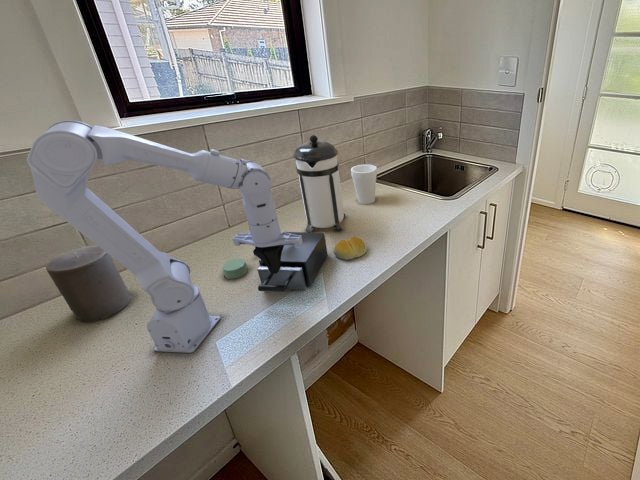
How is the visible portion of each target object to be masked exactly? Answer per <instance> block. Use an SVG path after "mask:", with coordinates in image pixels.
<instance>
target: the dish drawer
mask: <svg viewBox="0 0 640 480" xmlns="http://www.w3.org/2000/svg"><path fill="white" fill-rule="evenodd" d="M256 270H257V273H258V277H259V281H260V284H259V285H258V286H257V290H258V291H259V292H274V293H275V292H279V293H280V292H281V293H286V292H287V290H293V291H294V290H295V291H297V290H298V291H299V290H301V291H305V290H306V288H307V287H306V284H305V282H306V276H305V271H304V266H303V264H280V270H279V271H278V273H277V274H271V272H270V271H269V269H268V268H267V266H260V265H259V266H258V267H257V269H256Z"/></svg>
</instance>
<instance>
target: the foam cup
mask: <svg viewBox="0 0 640 480" xmlns="http://www.w3.org/2000/svg"><path fill="white" fill-rule="evenodd" d="M377 175H378V169H377V166H375V165H374V164H367V163H366V164H365V163H364V164H357V165H354V166H351V168H350V176H351V178H352V181H353V182H352V183H353V185H354V190H355V195H356V198H357V203H359V204H362V205H370V204H373V203H374V202H375V201H376V189H377V187H376V185H377Z"/></svg>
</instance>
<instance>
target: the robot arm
mask: <svg viewBox="0 0 640 480" xmlns="http://www.w3.org/2000/svg"><path fill="white" fill-rule="evenodd" d="M98 160H102V164H103V167H108V166H112V165H115V164H118V163H123V162H125V161H134V162H139V163H143V164H149V165H154V166H159V167H164V168H169V169H173V170H179V171H183V172H187V173H188V174H189V176H190V177H191V178H192V180H194V181H195V182H201V183H205V184H209V185H213V186H218V187H223V188H226V189H231V190H239V191H240V194H241V198H242V205H243V206H242V207H243V210H244V213H245V217H246V221H247V224H248V229H249V231H250V232H245V233H236V234H235V235H234V236H233V237H232V241H233V244H234V247H238V246H241V245H250V246H252V247H254V249H253V250H252V252H253V255H254V256H255V257H257V258H258V259H261V260H262V261H263V262H264V264H265V265H266V266H267V268H268V269H269V271H270V272H271V274H277V273H278V271H279V270H280V262H281V255H282V251H283V248H284V245H290V246H295V247H300V246H301V245H302V243H303V241H302V236H301V235H294V234H290V233H286V232H287V231H281V227H280V223H279V218H278V214H277V210H276V206H275V201H274V197H273V195H272V187H273V182H274V181H273V179H271V176H270V174H268V172H267V171H266V170H265V169H264V168H263V167H262V166H261V165H260V164H258V163H256V162H254V161H253V160H247V159H244V158H240V160H239V159H236V158H233V157H229V156H225V155H222V154H221V153H220V151H219V150H217V149H214V148H211V149H210V151H209V150H205V149H202V150H199V151H197V152H193V153H191V152H188V151H183V150H180V149H177V148H174V147H171V146H168V145H165V144H163V143H158V142H155V141H152V140H149V139H146V138H144V137H143V138H142V137H140V136H136V135H133V134H130V133H126V132H123V131H120V130H117V129H113V128H110V127H106V126H102V125H96V124H94V125H93V126H92V125H90V124H88V123H86V122H83V121H79V120H73V119H70V120H69V119H65V120H60V121H56V122H55V123H53V124H52V125H50V126H49V127H48V129H46V131H45V132H43V133H42V134H41V135H39V136H38V137H37V138H35V140H34V141H33V142H32V145H31V147H30V150H29V153H28V156H27V158H26V163H27V164H28V166H29V167H30V171H31V174H32V178H33V182H34V187H35V192H36V196H37V199H38V200H39V201H40V202H41V203H42V204H43V205H45V206H46V207H48V208H49V209H50V210H51V211H53V212H54V213H55V214H57V216H59V217H60V218H62V219H63V220H64V221H65V222H67V223H68V224H69V225H70V226H72V227H73V228H74V229H76V230H77V231H78V232H79V233H81V234H82V235H83V236H85V238H87V239H89V240H90V241H91V242H92V243H93V244H95V246H99V247H100V248H101V249H103V250H104V251H105V252H106V253H108V254H109V255H110V256H111V258H112V259H114V260H115V261H117V262H118V263H119V264H121V265H122V267H124V268H125V269H127V270H128V272H129V271H130V272H131V274H133V275H134V276H135V277H136V279H137V281H138V283H139V285H140V286H141V288H142V290H143V291H144V292H145V293H147V294H148V295H149V297H150V299H151V303H152V305H153V306H154V308H155V311H154V313H153V315H152V317H151V318H150V320H149V322H148V323H147V325H146V328H147V331H148V333H149V335H150V337H151V340H152V341H153V343H154V345H155V347H154V348H153V351H154V352H163V353H187V354H192V353H194V352H195V351H196V350H197V348H198V347H199V346H200V345H201V343H202V342H203V341H204V340H205V338H206V337H207V336H208V335H209V334H210V332H211V331H212V330H213V329H214V327H216V325H217V324H218V323H219V321H220V320H221V318H222V317H221V315H209V312H208V309H207V307H206V305H205V302H204V299H203V296H202V294H201V291H200V289H199V287H198V286H197V285H196V284H193V283H192V278H191V268H190V266H189V265H188V264H187V262H185V261H183V260H182V259H177V258H175V257H173V256H171V255H170V254H169V253H168V252H163V251H159V249H158V248H156V247H155V246H154V245H153V244H152V243H151V242H150V241H149V240H148V239H146V238H145V237H144V236H142V234H140V233H139V232H138V231H137V230H136V229H135V228H134V227H133V226H131V225H130V224H129V222H127V221H125V219H123V218H122V217H121V216H120V215H119V214H118V213H116V211H114V210H113V209H112V207H110V206H109V205H108V204H106V203H105V202H104V201H103V200H102V199H101V198H99V196H97V194H95V193H94V192H92V190H90V189H89V188H88V183H89V177H90V172H91V171H92V169H93V168H94V167H95V165H96V164H97V162H98Z"/></svg>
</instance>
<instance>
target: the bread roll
mask: <svg viewBox="0 0 640 480" xmlns="http://www.w3.org/2000/svg"><path fill="white" fill-rule="evenodd" d="M365 242H366V241H364V239H363V238H361V237H357V236H352V237H350V238H349V239H341V240H339V241H338V242H336V243H335V245H334V248H333V253H334V255H335V256H336V257H337V258H339V259H342V260H353V259H355V258H360V257H362V256H363V255H365V254H366V253H367V251H368V249H367V247H366V243H365Z"/></svg>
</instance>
